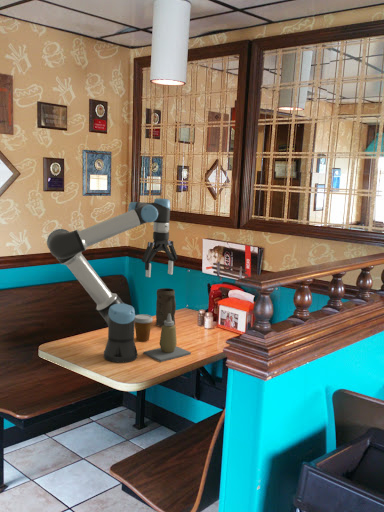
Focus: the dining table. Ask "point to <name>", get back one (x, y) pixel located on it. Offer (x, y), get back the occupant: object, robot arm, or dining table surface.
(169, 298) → the dark brown bag
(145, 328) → the disposable coffee cup
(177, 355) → the rubber mat
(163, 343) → the squeeze bottle
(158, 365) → the dining table surface
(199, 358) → the dining table surface
